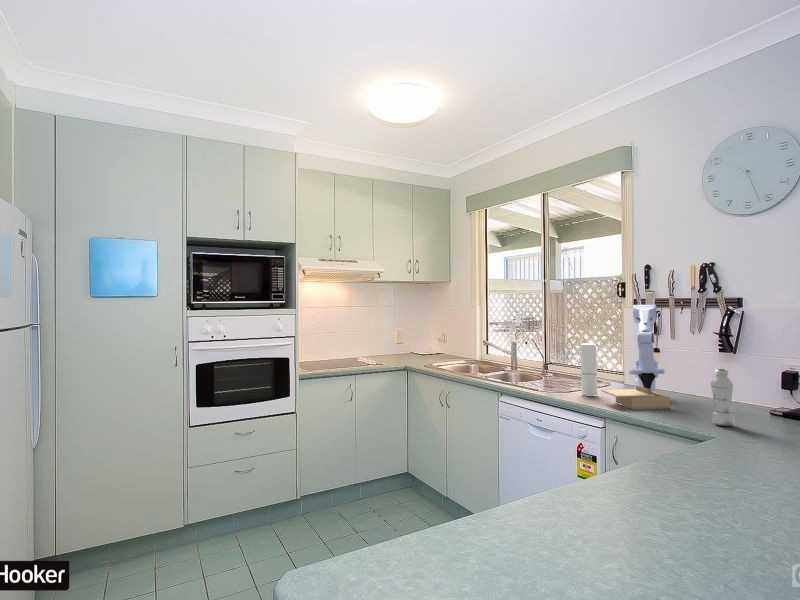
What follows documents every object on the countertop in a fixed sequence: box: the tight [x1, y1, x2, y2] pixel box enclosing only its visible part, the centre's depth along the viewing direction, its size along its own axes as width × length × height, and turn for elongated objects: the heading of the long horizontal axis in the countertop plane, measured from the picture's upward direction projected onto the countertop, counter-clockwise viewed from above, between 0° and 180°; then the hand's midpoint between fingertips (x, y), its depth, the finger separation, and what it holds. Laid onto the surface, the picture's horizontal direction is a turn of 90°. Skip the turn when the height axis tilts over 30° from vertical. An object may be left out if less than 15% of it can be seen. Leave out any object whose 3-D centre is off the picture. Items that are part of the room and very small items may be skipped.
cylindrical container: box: [579, 343, 598, 396], centre depth 223 cm, size 7×7×25 cm
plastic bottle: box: [710, 368, 736, 427], centre depth 163 cm, size 6×7×20 cm
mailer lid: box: [601, 385, 655, 398], centre depth 198 cm, size 14×16×3 cm
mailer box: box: [615, 391, 671, 410], centre depth 198 cm, size 14×16×5 cm
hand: (647, 390), depth 198 cm, fingers closed
